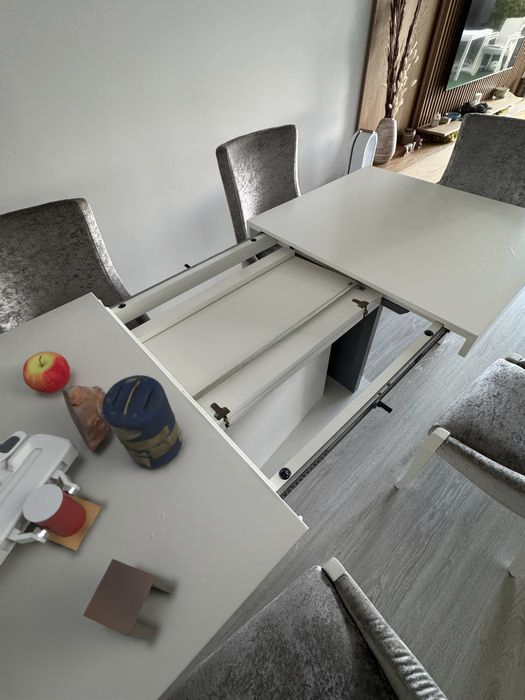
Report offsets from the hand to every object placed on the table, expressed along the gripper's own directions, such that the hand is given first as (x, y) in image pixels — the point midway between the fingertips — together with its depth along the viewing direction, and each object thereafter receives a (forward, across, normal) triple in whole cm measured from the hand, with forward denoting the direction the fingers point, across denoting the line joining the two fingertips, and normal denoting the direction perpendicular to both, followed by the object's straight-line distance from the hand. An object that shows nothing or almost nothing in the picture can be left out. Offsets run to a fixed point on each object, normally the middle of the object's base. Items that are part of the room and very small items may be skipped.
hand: (61, 513), depth 53 cm
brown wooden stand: (+16, -6, +5) cm, 18 cm away
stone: (-7, +17, +6) cm, 19 cm away
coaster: (-1, 0, +5) cm, 5 cm away
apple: (-22, +22, +6) cm, 32 cm away
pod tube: (-1, 0, +5) cm, 5 cm away
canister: (+6, +16, +6) cm, 18 cm away
